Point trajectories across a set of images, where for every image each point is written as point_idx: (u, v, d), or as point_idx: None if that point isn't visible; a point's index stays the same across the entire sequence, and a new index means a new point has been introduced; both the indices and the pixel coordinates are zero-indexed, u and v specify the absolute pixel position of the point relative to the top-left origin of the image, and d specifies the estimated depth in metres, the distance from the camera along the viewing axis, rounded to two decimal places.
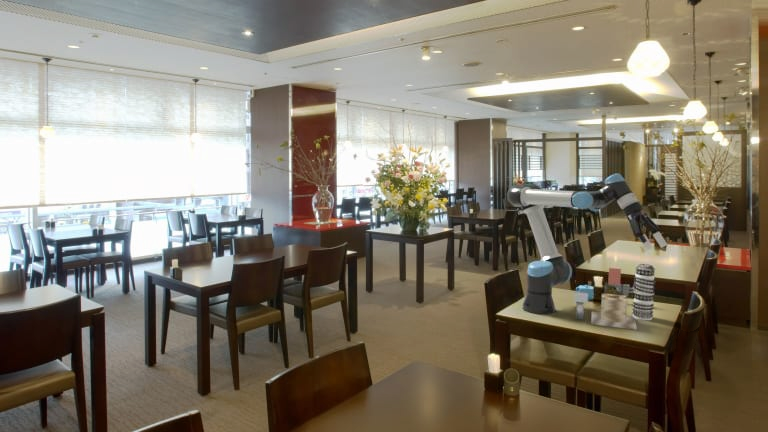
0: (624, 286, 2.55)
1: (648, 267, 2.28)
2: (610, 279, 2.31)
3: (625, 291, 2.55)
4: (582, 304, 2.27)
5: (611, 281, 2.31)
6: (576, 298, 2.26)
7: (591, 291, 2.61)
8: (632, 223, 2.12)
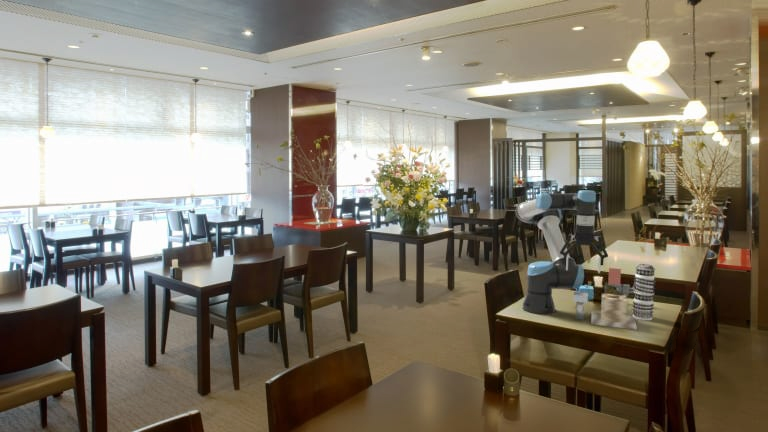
0: (624, 286, 2.55)
1: (648, 267, 2.28)
2: (610, 279, 2.31)
3: (625, 291, 2.55)
4: (582, 304, 2.27)
5: (611, 281, 2.31)
6: (576, 298, 2.26)
7: (591, 291, 2.61)
8: None
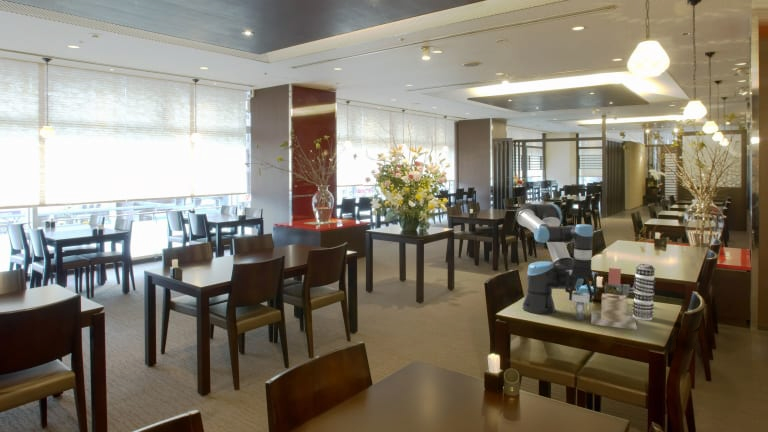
0: (624, 286, 2.55)
1: (648, 267, 2.28)
2: (610, 279, 2.31)
3: (625, 291, 2.55)
4: (582, 304, 2.27)
5: (611, 281, 2.31)
6: (576, 298, 2.26)
7: None
8: (566, 279, 2.29)
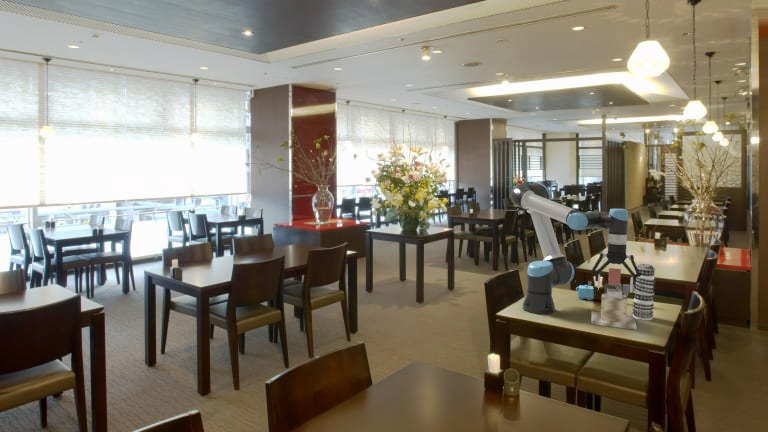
0: (624, 286, 2.55)
1: (648, 267, 2.28)
2: (610, 279, 2.31)
3: (625, 291, 2.55)
4: None
5: (611, 281, 2.31)
6: (609, 294, 2.23)
7: (591, 291, 2.61)
8: (597, 261, 2.26)
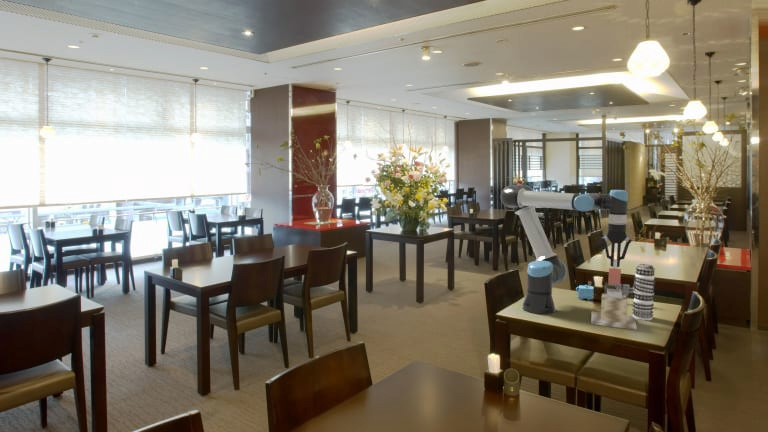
0: (624, 286, 2.55)
1: (648, 267, 2.28)
2: (610, 279, 2.31)
3: (625, 291, 2.55)
4: None
5: (611, 281, 2.31)
6: (609, 294, 2.23)
7: (591, 291, 2.61)
8: None
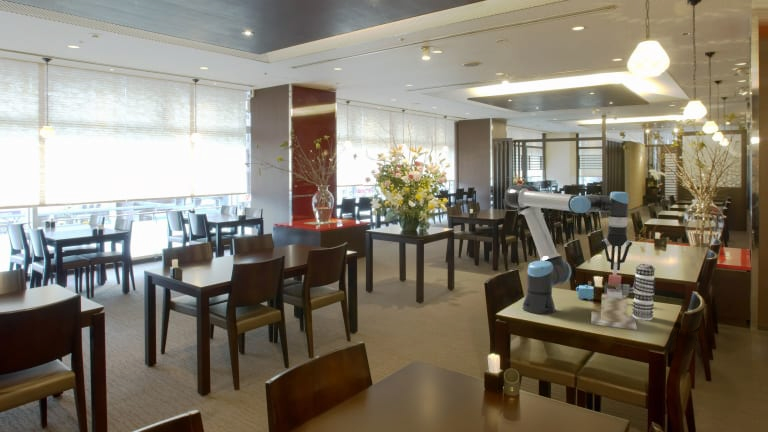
0: (624, 286, 2.55)
1: (648, 267, 2.28)
2: (610, 282, 2.29)
3: (625, 291, 2.55)
4: None
5: (611, 283, 2.30)
6: (609, 294, 2.23)
7: (591, 291, 2.61)
8: None
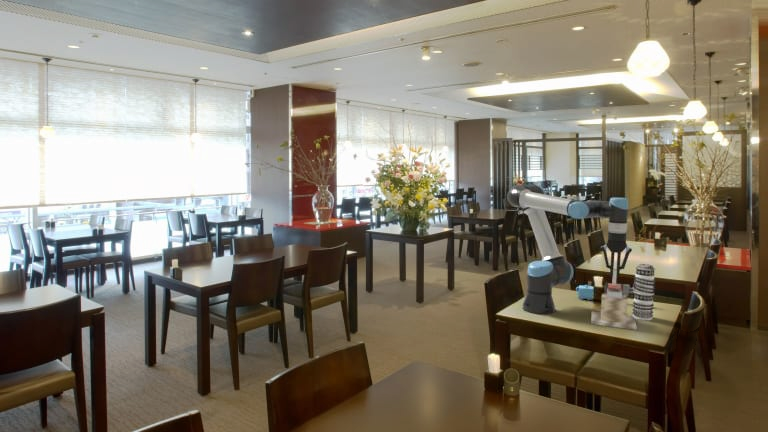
0: (624, 286, 2.55)
1: (648, 267, 2.28)
2: None
3: (625, 291, 2.55)
4: None
5: None
6: (609, 294, 2.23)
7: (591, 291, 2.61)
8: (604, 255, 2.27)
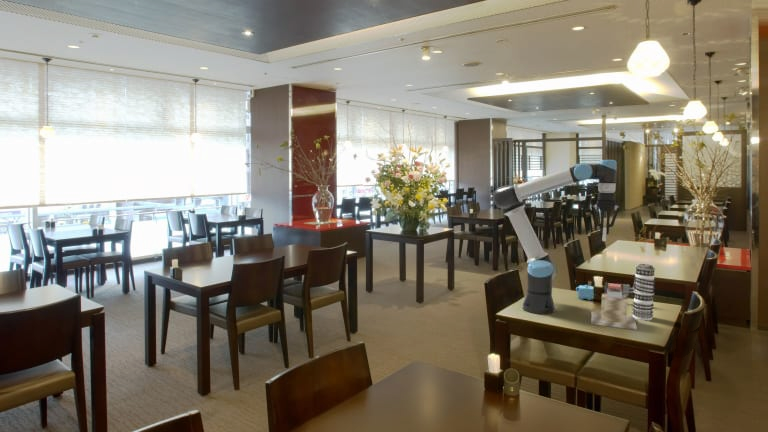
0: (624, 286, 2.55)
1: (648, 267, 2.28)
2: None
3: (625, 291, 2.55)
4: None
5: None
6: (609, 294, 2.23)
7: (591, 291, 2.61)
8: (594, 214, 2.42)
